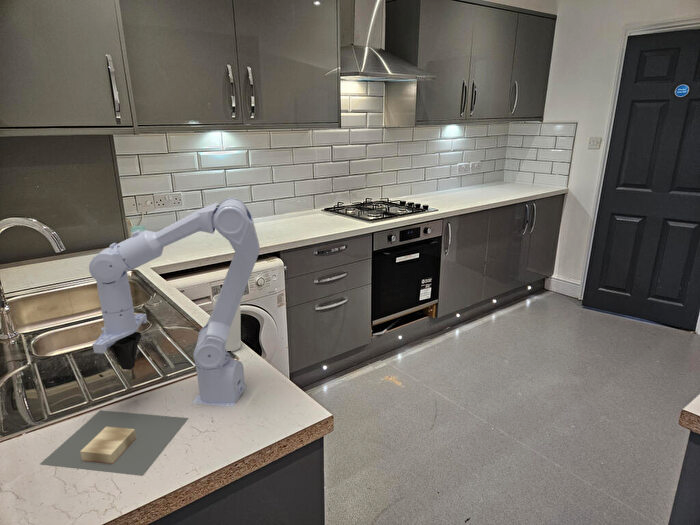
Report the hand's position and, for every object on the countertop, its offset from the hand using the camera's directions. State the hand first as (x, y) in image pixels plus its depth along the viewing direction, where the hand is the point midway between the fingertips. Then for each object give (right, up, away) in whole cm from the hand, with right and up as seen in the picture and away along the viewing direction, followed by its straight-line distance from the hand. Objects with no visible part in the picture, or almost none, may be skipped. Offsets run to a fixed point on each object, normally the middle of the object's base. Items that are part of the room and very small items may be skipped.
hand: (128, 367), depth 95 cm
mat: (+2, -12, -8) cm, 15 cm away
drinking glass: (+14, -1, +28) cm, 31 cm away
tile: (+2, -10, -8) cm, 13 cm away
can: (-55, +28, +125) cm, 140 cm away
